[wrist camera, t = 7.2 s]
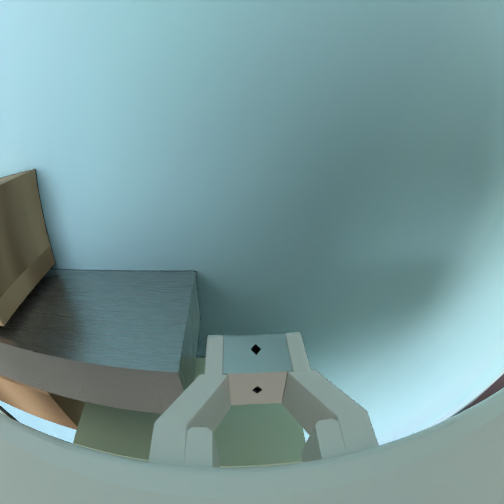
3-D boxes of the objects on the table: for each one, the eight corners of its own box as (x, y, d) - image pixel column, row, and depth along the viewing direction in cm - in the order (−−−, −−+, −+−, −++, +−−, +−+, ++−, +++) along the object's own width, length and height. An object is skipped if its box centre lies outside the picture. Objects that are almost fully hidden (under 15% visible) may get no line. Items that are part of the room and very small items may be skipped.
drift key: (195, 271, 11) (178, 372, 6) (200, 318, 12) (191, 415, 8) (-5, 267, 10) (-54, 322, 6) (10, 303, 11) (-30, 361, 7)
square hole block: (287, 355, 14) (308, 459, 8) (271, 432, 18) (280, 497, 13) (104, 350, 13) (73, 442, 8) (147, 429, 18) (139, 492, 12)
